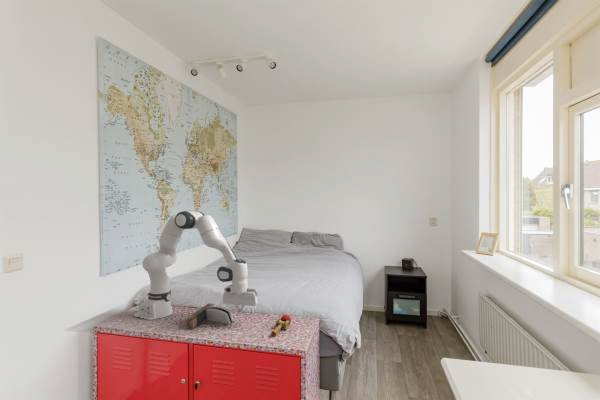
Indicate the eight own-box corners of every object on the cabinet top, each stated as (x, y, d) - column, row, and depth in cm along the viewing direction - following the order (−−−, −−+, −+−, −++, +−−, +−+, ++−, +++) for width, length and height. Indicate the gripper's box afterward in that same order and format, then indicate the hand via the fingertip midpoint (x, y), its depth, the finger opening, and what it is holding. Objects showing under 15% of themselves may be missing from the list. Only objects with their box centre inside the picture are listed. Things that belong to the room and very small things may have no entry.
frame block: (186, 328, 165) (186, 318, 165) (208, 312, 188) (208, 303, 188) (193, 329, 164) (193, 318, 164) (214, 313, 188) (214, 303, 188)
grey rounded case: (235, 321, 175) (231, 307, 172) (230, 326, 171) (226, 312, 168) (212, 316, 182) (208, 302, 179) (207, 322, 178) (203, 308, 175)
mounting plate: (197, 326, 168) (197, 314, 168) (211, 315, 184) (211, 304, 184) (197, 326, 168) (197, 314, 168) (211, 315, 184) (211, 304, 184)
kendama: (281, 340, 154) (295, 322, 171) (279, 328, 154) (292, 311, 170) (268, 340, 157) (283, 322, 174) (266, 329, 157) (280, 312, 173)
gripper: (259, 287, 174) (259, 311, 173) (226, 285, 178) (226, 308, 178) (255, 290, 167) (255, 315, 167) (221, 288, 171) (221, 312, 171)
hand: (240, 312), depth 172 cm, fingers closed
